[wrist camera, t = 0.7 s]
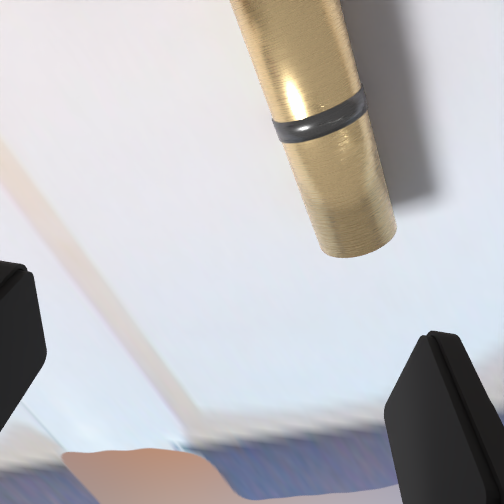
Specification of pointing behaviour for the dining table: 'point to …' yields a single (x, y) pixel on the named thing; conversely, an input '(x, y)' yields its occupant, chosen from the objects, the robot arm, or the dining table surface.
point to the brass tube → (320, 119)
